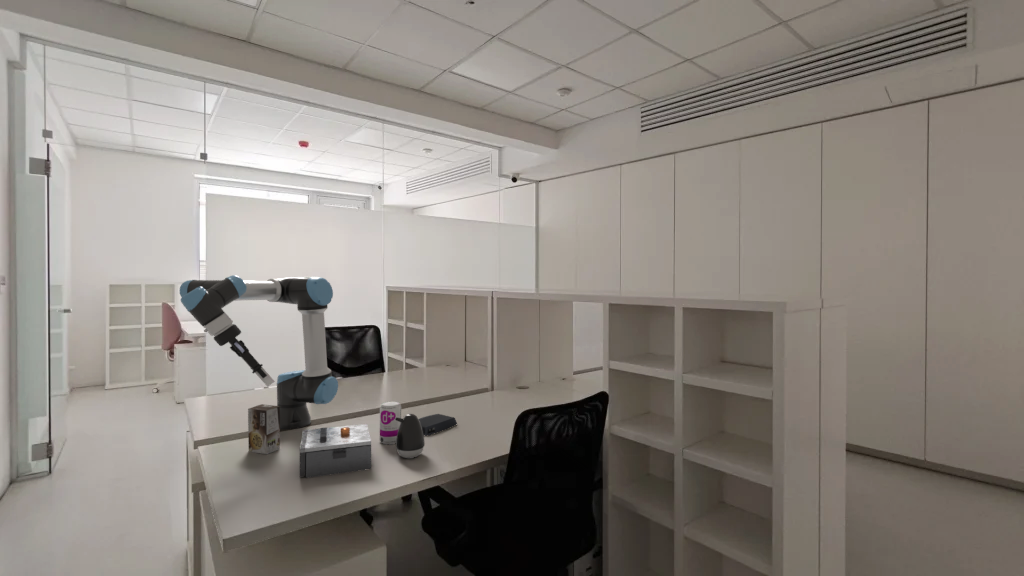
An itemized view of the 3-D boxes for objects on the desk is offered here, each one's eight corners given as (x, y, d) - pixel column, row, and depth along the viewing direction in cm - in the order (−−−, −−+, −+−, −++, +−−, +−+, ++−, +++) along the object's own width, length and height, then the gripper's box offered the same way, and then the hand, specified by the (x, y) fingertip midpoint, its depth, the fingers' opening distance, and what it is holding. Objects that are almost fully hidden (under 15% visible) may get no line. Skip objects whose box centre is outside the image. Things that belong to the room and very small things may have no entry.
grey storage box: (305, 480, 147) (305, 454, 146) (308, 453, 169) (309, 431, 169) (371, 471, 154) (371, 447, 154) (366, 447, 176) (366, 425, 176)
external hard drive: (404, 431, 197) (405, 422, 196) (437, 420, 212) (437, 411, 212) (426, 437, 189) (426, 427, 189) (458, 426, 205) (458, 416, 205)
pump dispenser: (393, 452, 171) (393, 411, 171) (421, 449, 175) (421, 408, 174) (397, 462, 161) (397, 419, 161) (427, 458, 165) (427, 416, 165)
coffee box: (280, 448, 174) (280, 405, 174) (266, 454, 168) (266, 410, 168) (262, 445, 177) (262, 403, 177) (247, 451, 171) (247, 407, 170)
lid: (299, 477, 148) (299, 442, 148) (302, 455, 166) (303, 424, 166) (371, 467, 156) (371, 435, 156) (366, 447, 174) (366, 418, 174)
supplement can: (395, 445, 178) (395, 406, 178) (375, 444, 180) (375, 405, 179) (404, 438, 186) (404, 401, 186) (385, 437, 188) (385, 400, 187)
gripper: (211, 336, 156) (258, 389, 163) (213, 338, 145) (263, 394, 152) (232, 322, 159) (277, 374, 166) (235, 323, 149) (283, 378, 156)
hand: (270, 383), depth 159 cm, fingers closed
